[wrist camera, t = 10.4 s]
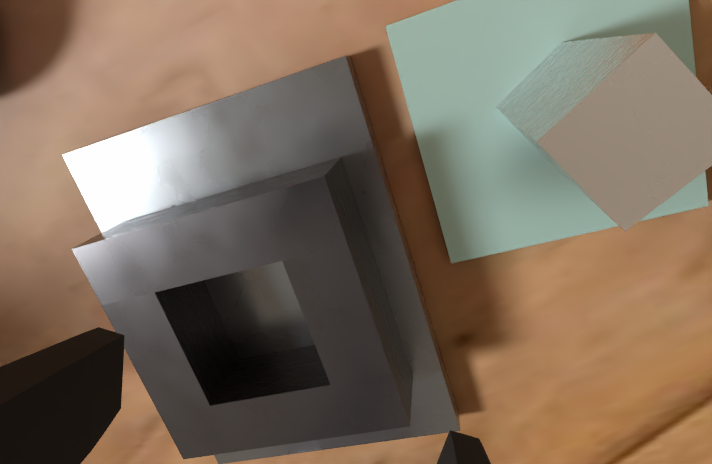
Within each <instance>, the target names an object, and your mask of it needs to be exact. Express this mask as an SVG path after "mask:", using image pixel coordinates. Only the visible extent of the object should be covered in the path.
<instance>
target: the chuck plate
mask: <svg viewBox="0 0 712 464" xmlns="http://www.w3.org/2000/svg"><path fill="white" fill-rule="evenodd" d="M63 157H64V159H65V161H66V163H67V165H68V167H69V169H70V171H71V173H72V175H73V177H74V179H75V181H76V183H77V185H78V187H79V189H80V191H81V193H82V195H83V197H84V199H85V201H86V203H87V205H88V207H89V209H90V211H91V213H92V214H93V216H94V218H95V220H96V222H97V224H98V226H99V228H100V230H101V232H102V233H101V234H99V235H97V236H95V237H93V238H91V239H90V240H88V241H86V242H84V243H82V244H80V245H78V246H77V247H75V248H73V249H72V251H73V253H74V254H75V256H76V258H77V260H78V262H79V264H80V266H81V268H82V269H83V271H84V273H85V275H86V277H87V279H88V281H89V283H90V284H91V286H92V288H93V290H94V292H95V294H96V296H97V298H98V299H99V301H100V303H101V305H102V307H103V309H104V311H105V313H106V315H107V316H108V318H109V320H110V322H111V324H112V326H113V328H114V330H115V331H116V333H119V334H123V335H125V337H124V348H125V350H126V352H127V354H128V356H129V358H130V360H131V362H132V363H133V365H134V367H135V369H136V371H137V373H138V375H139V377H140V378H141V380H142V382H143V384H144V386H145V388H146V390H147V392H148V393H149V395H150V397H151V399H152V401H153V403H154V405H155V407H156V408H157V410H158V412H159V414H160V416H161V418H162V420H163V422H164V424H165V425H166V427H167V429H168V431H169V433H170V435H171V437H172V439H173V440H174V442H175V444H176V446H177V448H178V450H179V452H180V454H181V455H182V457H183V459H188V458H195V457H202V456H209V455H214V456H215V458H216V459H217V461H218V463H219V464H223V463H230V462H237V461H245V460H252V459H259V458H266V457H274V456H281V455H288V454H295V453H303V452H310V451H317V450H324V449H332V448H339V447H346V446H353V445H361V444H368V443H375V442H382V441H389V440H397V439H404V438H411V437H418V436H426V435H433V434H440V433H447V432H449V431H450V430H451V431H454V432H455V431H460V423H459V413H458V410H457V407H456V403H455V400H454V397H453V393H452V390H451V387H450V383H449V380H448V377H447V374H446V370H445V367H444V364H443V360H442V357H441V354H440V350H439V347H438V344H437V341H436V337H435V334H434V331H433V327H432V324H431V321H430V318H429V314H428V311H427V308H426V304H425V301H424V298H423V294H422V291H421V288H420V285H419V281H418V278H417V275H416V271H415V268H414V265H413V261H412V258H411V255H410V252H409V248H408V245H407V242H406V238H405V235H404V232H403V228H402V225H401V222H400V219H399V215H398V212H397V209H396V205H395V202H394V199H393V196H392V192H391V189H390V186H389V182H388V179H387V176H386V172H385V169H384V166H383V163H382V159H381V156H380V153H379V149H378V146H377V143H376V139H375V136H374V133H373V130H372V126H371V123H370V120H369V116H368V113H367V110H366V106H365V103H364V100H363V97H362V93H361V90H360V87H359V83H358V80H357V77H356V74H355V70H354V67H353V64H352V60H351V57H350V56H343V57H341V58H338V59H335V60H332V61H329V62H326V63H323V64H321V65H318V66H315V67H312V68H309V69H306V70H303V71H301V72H298V73H295V74H292V75H289V76H286V77H284V78H281V79H278V80H275V81H272V82H269V83H266V84H264V85H261V86H258V87H255V88H252V89H249V90H246V91H244V92H241V93H238V94H235V95H232V96H229V97H226V98H224V99H221V100H218V101H215V102H212V103H209V104H207V105H204V106H201V107H198V108H195V109H192V110H189V111H187V112H184V113H181V114H178V115H175V116H172V117H169V118H167V119H164V120H161V121H158V122H155V123H152V124H149V125H147V126H144V127H141V128H138V129H135V130H132V131H130V132H127V133H124V134H121V135H118V136H115V137H112V138H110V139H107V140H104V141H101V142H98V143H95V144H92V145H90V146H87V147H84V148H81V149H78V150H75V151H72V152H70V153H67V154H64V155H63Z"/></svg>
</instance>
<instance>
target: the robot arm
mask: <svg viewBox="0 0 712 464" xmlns="http://www.w3.org/2000/svg"><path fill="white" fill-rule="evenodd" d="M124 337H125V335H123V334H119V333H116V332H112V331H109V330H105V329H102V328H99V327H98V328H96V329H93V330H90V331H87V332H85V333H82V334H80V335H77V336H75V337H72V338H70V339H67V340H65V341H62V342H60V343H58V344H55V345H53V346H50V347H48V348H46V349H43V350H41V351H38V352H36V353H33V354H31V355H29V356H26V357H24V358H21V359H19V360H16V361H14V362H11V363H9V364H6V365H4V366H1V367H0V464H80V463H81V462H82V461H83V460H84V459H85V458H86V456H87V455H88V454H89V453H90V452H91V450H92V449H93V448H94V446H95V445H96V443H97V442H98V441H99V439H100V438H101V437H102V435H103V434H104V432H105V431H106V429H107V428H108V426H109V425H110V424H111V422H112V421H113V419H114V418H115V416H116V415H117V413H118V412H119V410H120V409H121V394H122V375H123V356H124ZM437 464H491V463H490V461H489V459H488V456H487V454H486V452H485V450H484V447H483V445H482V443H481V442H480V440H479V439H478V438H475V437H471V436H468V435H465V434H461V433H458V432H454V431H451V430H450V431H449V434H448V437H447V439H446V442H445V444H444V447H443V449H442V452H441V454H440V457H439V460H438V462H437Z"/></svg>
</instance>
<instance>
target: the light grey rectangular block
mask: <svg viewBox="0 0 712 464" xmlns="http://www.w3.org/2000/svg"><path fill="white" fill-rule="evenodd" d="M496 108H497V109H498V110H499V111H500V112H501V113H502V114H503V115H504V116H505V117H506V118H507V119H508V120H509V121H510V123H511V124H512V125H513V126H514V127H515V128H516V129H517V130H518V131H519V132H520V133H521V134H522V135H523V136H524V137H525V138H526V139H527V140H528V141H529V142H530V143H531V144H532V145H533V146H534V147H535V148H536V149H537V150H538V151H539V152H540V153H541V154H542V155H543V156H544V157H545V158H546V159H547V160H548V161H549V162H550V163H551V164H552V165H553V166H554V167H555V168H557V169H558V170H559V171H560V172H561V173H562V174H563V175H564V176H565V177H566V178H567V179H569V180H570V181H571V182H572V183H573V184H574V185H575V186H576V187H577V188H578V189H579V190H580V191H582V192H583V193H584V194H585V195H586V196H587V197H588V198H589V199H590V200H591V201H592V202H594V203H595V204H596V205H597V206H598V207H599V208H600V209H601V210H602V211H603V212H604V213H605V214H607V215H608V216H609V217H610V218H611V219H612V220H613V221H614V222H615V223H616V224H617V225H619V226H620V227H621V228H622V229H623V230H624V231H627V230H628V229H629V228H631V227H632V226H633V225H635V224H636V223H637V222H638V221H640V220H641V219H642V218H644V217H645V216H646V215H648V214H649V213H650V212H652V211H653V210H654V209H655V208H657V207H658V206H659V205H661V204H662V203H663V202H665V201H666V200H667V199H669V198H670V197H671V196H672V195H674V194H675V193H676V192H678V191H679V190H680V189H682V188H683V187H684V186H686V185H687V184H688V183H690V182H691V181H692V180H693V179H695V178H696V177H697V176H699V175H700V174H701V173H703V172H704V171H705V170H707V169H708V168H709V167H710V166H712V95H711V93H710V92H709V91H708V90H707V89H706V88H705V87H704V86H703V85H702V83H701V82H700V81H699V80H698V79H697V78H696V77H695V76H694V75H693V73H692V72H691V71H690V70H689V69H688V68H687V67H686V66H685V65H684V63H683V62H682V61H681V60H680V59H679V58H678V57H677V56H676V55H675V53H674V52H673V51H672V50H671V49H670V48H669V47H668V46H667V45H666V44H665V42H664V41H663V40H662V39H661V38H660V37H659V36H658V35H657V34H656V33H649V34H639V35H629V36H619V37H608V38H598V39H588V40H578V41H568V42H561V43H560V44H559V45H558V46H557V47H556V48H555V49H554V50H553V51H552V52H551V53H550V54H549V55H548V56H547V57H546V58H545V59H544V60H543V61H542V62H541V63H540V64H539V65H538V66H537V67H536V68H535V69H534V70H533V71H532V72H531V73H530V74H529V75H528V76H527V77H526V78H525V79H524V80H523V81H522V82H521V83H520V84H519V85H518V86H517V87H516V88H515V89H513V90H512V91H511V92H510V93H509V94H508V95H507V96H506V97H505V98H504V99H503V100H502V101H501V102H500V103H499V104H498V105H497V106H496Z"/></svg>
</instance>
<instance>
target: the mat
mask: <svg viewBox="0 0 712 464" xmlns="http://www.w3.org/2000/svg"><path fill="white" fill-rule="evenodd" d="M386 30H387V34H388V37H389V41H390V45H391V48H392V52H393V55H394V59H395V63H396V66H397V70H398V73H399V77H400V81H401V84H402V88H403V91H404V95H405V99H406V102H407V106H408V109H409V113H410V117H411V120H412V124H413V127H414V131H415V135H416V138H417V142H418V146H419V149H420V153H421V156H422V160H423V164H424V167H425V171H426V174H427V178H428V182H429V185H430V189H431V192H432V196H433V200H434V203H435V207H436V210H437V214H438V218H439V221H440V225H441V229H442V232H443V236H444V239H445V243H446V247H447V250H448V254H449V257H450V261H451V264H452V263H456V262H460V261H465V260H469V259H474V258H478V257H483V256H487V255H492V254H496V253H501V252H505V251H509V250H514V249H518V248H523V247H527V246H532V245H536V244H541V243H545V242H549V241H554V240H558V239H563V238H567V237H572V236H576V235H581V234H585V233H590V232H594V231H598V230H603V229H607V228H612V227H616V226H619V225H617V224H616V223H615V222H614V221H613V220H612V219H611V218H610V217H609V216H608V215H607V214H605V213H604V212H603V211H602V210H601V209H600V208H599V207H598V206H597V205H596V204H595V203H594V202H592V201H591V200H590V199H589V198H588V197H587V196H586V195H585V194H584V193H583V192H582V191H580V190H579V189H578V188H577V187H576V186H575V185H574V184H573V183H572V182H571V181H570V180H569V179H567V178H566V177H565V176H564V175H563V174H562V173H561V172H560V171H559V170H558V169H557V168H555V167H554V166H553V165H552V164H551V163H550V162H549V161H548V160H547V159H546V158H545V157H544V156H543V155H542V154H541V153H540V152H539V151H538V150H537V149H536V148H535V147H534V146H533V145H532V144H531V143H530V142H529V141H528V140H527V139H526V138H525V137H524V136H523V135H522V134H521V133H520V132H519V131H518V130H517V129H516V128H515V127H514V126H513V125H512V124H511V123H510V121H509V120H508V119H507V118H506V117H505V116H504V115H503V114H502V113H501V112H500V111H499V110H498V109H497V108H496V106H497V105H498V104H499V103H500V102H501V101H502V100H503V99H504V98H505V97H506V96H507V95H508V94H509V93H510V92H511V91H512V90H513V89H515V88H516V87H517V86H518V85H519V84H520V83H521V82H522V81H523V80H524V79H525V78H526V77H527V76H528V75H529V74H530V73H531V72H532V71H533V70H534V69H535V68H536V67H537V66H538V65H539V64H540V63H541V62H542V61H543V60H544V59H545V58H546V57H547V56H548V55H549V54H550V53H551V52H552V51H553V50H554V49H555V48H556V47H557V46H558V45H559V44H560V43H561V42H568V41H578V40H588V39H598V38H608V37H619V36H629V35H639V34H649V33H656V34H657V35H658V36H659V37H660V38H661V39H662V40H663V41H664V42H665V44H666V45H667V46H668V47H669V48H670V49H671V50H672V51H673V52H674V53H675V55H676V56H677V57H678V58H679V59H680V60H681V61H682V62H683V63H684V65H685V66H686V67H687V68H688V69H689V70H690V71H691V72H692V73H693V75H694V76H695V77H696V69H695V59H694V49H693V38H692V28H691V18H690V7H689V0H457V1H454V2H451V3H448V4H446V5H443V6H440V7H437V8H434V9H432V10H429V11H426V12H423V13H421V14H418V15H415V16H412V17H409V18H407V19H404V20H401V21H398V22H395V23H393V24H390V25H387V26H386ZM705 206H709V204H708V193H707V183H706V173H705V171H704V172H703V173H701V174H700V175H699V176H697V177H696V178H695V179H693V180H692V181H691V182H690V183H688V184H687V185H686V186H684V187H683V188H682V189H680V190H679V191H678V192H676V193H675V194H674V195H672V196H671V197H670V198H669V199H667V200H666V201H665V202H663V203H662V204H661V205H659V206H658V207H657V208H655V209H654V210H653V211H652V212H650V213H649V214H648V215H646V216H645V217H644V218H642V219H641V220H640V221H643V220H647V219H652V218H656V217H661V216H665V215H670V214H674V213H679V212H683V211H687V210H692V209H696V208H701V207H705Z"/></svg>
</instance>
